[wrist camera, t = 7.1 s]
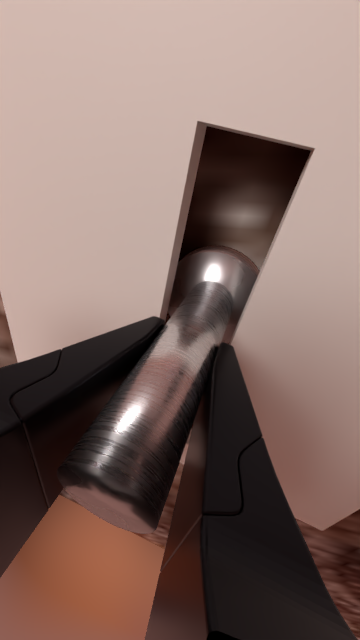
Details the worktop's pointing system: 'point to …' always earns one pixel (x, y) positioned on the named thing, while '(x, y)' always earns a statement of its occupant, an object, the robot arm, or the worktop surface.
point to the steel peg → (160, 396)
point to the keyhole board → (176, 192)
